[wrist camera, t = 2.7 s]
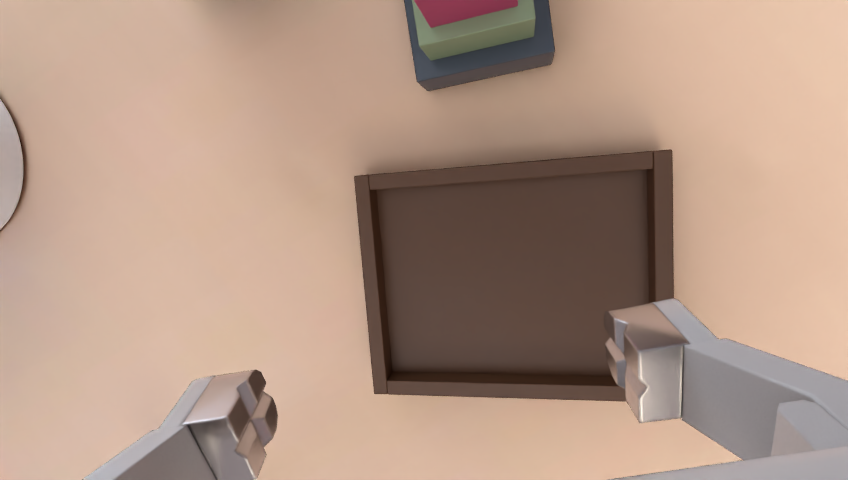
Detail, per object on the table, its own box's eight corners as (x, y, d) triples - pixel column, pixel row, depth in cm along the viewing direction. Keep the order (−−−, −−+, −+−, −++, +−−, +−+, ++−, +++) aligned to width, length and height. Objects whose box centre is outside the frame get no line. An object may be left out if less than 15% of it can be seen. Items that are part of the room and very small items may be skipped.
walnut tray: (383, 381, 33) (373, 394, 31) (364, 176, 31) (353, 176, 29) (664, 387, 29) (675, 403, 27) (661, 151, 27) (672, 149, 25)
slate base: (427, 91, 30) (416, 82, 27) (407, -35, 29) (394, -59, 26) (551, 64, 28) (555, 51, 25) (534, -71, 27) (535, -102, 24)
